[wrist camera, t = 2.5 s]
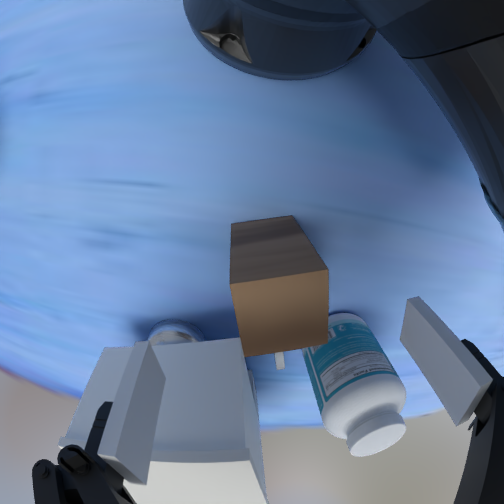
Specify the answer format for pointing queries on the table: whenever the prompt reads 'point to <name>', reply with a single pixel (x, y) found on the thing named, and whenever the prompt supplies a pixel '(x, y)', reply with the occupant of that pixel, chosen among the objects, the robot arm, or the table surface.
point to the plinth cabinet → (190, 424)
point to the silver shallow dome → (174, 333)
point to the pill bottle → (356, 386)
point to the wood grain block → (277, 288)
